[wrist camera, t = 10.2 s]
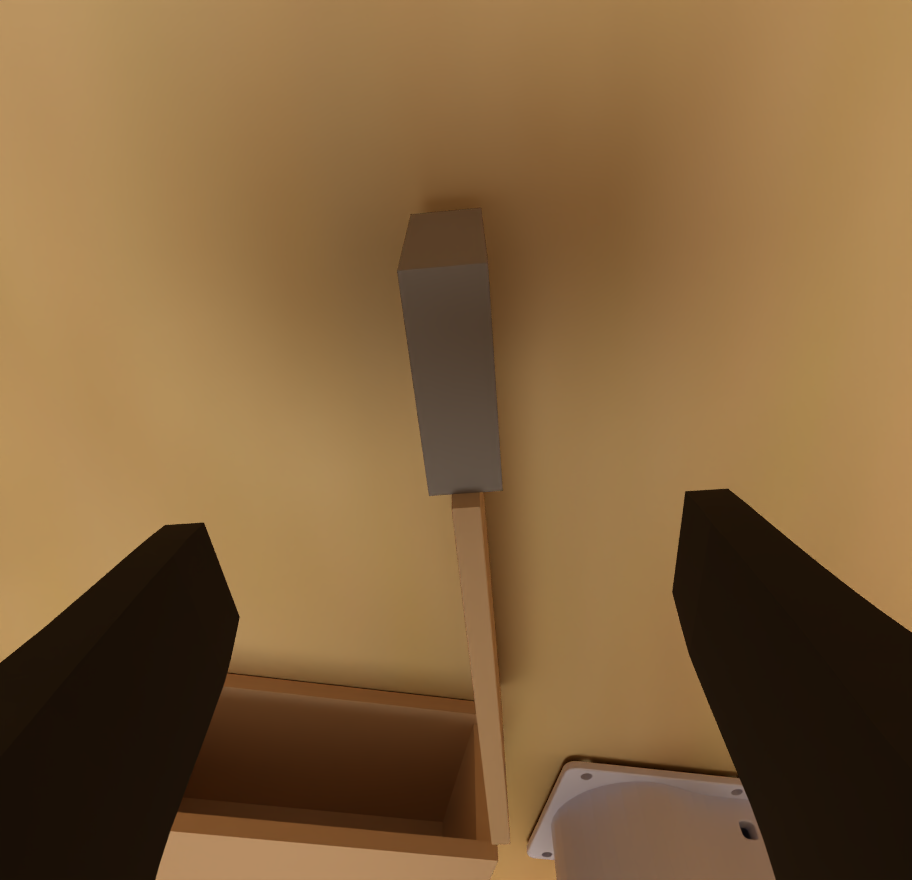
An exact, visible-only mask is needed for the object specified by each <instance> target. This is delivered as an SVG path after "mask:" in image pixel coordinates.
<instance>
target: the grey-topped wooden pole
mask: <svg viewBox="0 0 912 880" xmlns="http://www.w3.org/2000/svg"><path fill="white" fill-rule="evenodd" d="M397 273H398V280H399V287H400V294H401V302H402V309H403V316H404V323H405V330H406V337H407V344H408V351H409V358H410V365H411V372H412V379H413V386H414V393H415V400H416V407H417V415H418V422H419V429H420V436H421V443H422V450H423V457H424V464H425V471H426V478H427V485H428V492H429V496H434V495H449V494H452V515H453V523H454V532H455V540H456V549H457V557H458V565H459V574H460V582H461V590H462V599H463V607H464V615H465V624H466V632H467V641H468V649H469V657H470V666H471V674H472V682H473V691H474V699H475V707H476V716H477V724H478V733H479V741H480V749H481V758H482V766H483V774H484V783H485V791H486V799H487V808H488V816H489V825H490V833H491V841H492V845H499V844H510V831H509V815H508V799H507V784H506V768H505V752H504V736H503V721H502V705H501V690H500V679H499V667H498V655H497V643H496V631H495V619H494V607H493V596H492V584H491V572H490V560H489V548H488V536H487V524H486V513H485V501H484V492H491V491H503V488H502V473H501V457H500V442H499V427H498V411H497V396H496V380H495V365H494V349H493V334H492V318H491V303H490V287H489V272H488V259H487V251H486V243H485V235H484V227H483V219H482V211H481V208H474V209H463V210H452V211H441V212H431V213H420V214H411V216H410V220H409V224H408V228H407V233H406V237H405V241H404V245H403V249H402V253H401V257H400V261H399V265H398V269H397Z"/></svg>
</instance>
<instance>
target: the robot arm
mask: <svg viewBox="0 0 912 880" xmlns="http://www.w3.org/2000/svg"><path fill="white" fill-rule="evenodd" d="M672 593H673V597H674V600H675V604H676V608H677V612H678V616H679V620H680V624H681V627H682V631H683V634H684V638H685V641H686V645H687V648H688V652H689V655H690V658H691V660H692V663H693V666H694V668H695V671H696V673H697V676H698V678H699V681H700V683H701V686H702V688H703V690H704V693H705V695H706V698H707V700H708V703H709V705H710V708H711V710H712V713H713V715H714V717H715V720H716V722H717V725H718V727H719V730H720V732H721V734H722V737H723V739H724V742H725V744H726V747H727V749H728V751H729V754H730V756H731V759H732V761H733V764H734V766H735V769H736V771H737V773H738V776H739V778H733V777H724V776H714V775H705V774H695V773H686V772H676V771H667V770H658V769H648V768H639V767H629V766H620V765H610V764H601V763H592V762H582V761H571V762H568V763H566V764H565V765H564V766H563V769H562V771H561V773H560V775H559V777H558V779H557V781H556V784H555V786H554V788H553V790H552V792H551V794H550V797H549V799H548V801H547V803H546V805H545V807H544V809H543V812H542V814H541V816H540V818H539V820H538V822H537V825H536V827H535V829H534V831H533V833H532V835H531V837H530V840H529V842H528V844H527V854H528V855H529V856H530V857H532V858H539V859H550V860H555V868H556V877H557V880H912V632H910V631H909V630H907V629H906V628H904V627H903V626H902V625H900V624H899V623H897V622H896V621H895V620H893V619H892V618H890V617H889V616H888V615H886V614H885V613H883V612H882V611H881V610H879V609H878V608H876V607H875V606H874V605H872V604H871V603H870V602H868V601H867V600H866V599H864V598H863V597H862V596H860V595H859V594H858V593H856V592H855V591H854V590H852V589H851V588H850V587H849V586H847V585H846V584H845V583H843V582H842V581H841V580H839V579H838V578H837V577H836V576H834V575H833V574H832V573H831V572H829V571H828V570H827V569H825V568H824V567H823V566H822V565H820V564H819V563H818V562H817V561H815V560H814V559H813V558H812V557H810V556H809V555H808V554H807V553H806V552H804V551H803V550H802V549H801V548H799V547H798V546H797V545H796V544H794V543H793V542H792V541H791V540H790V539H788V538H787V537H786V536H785V535H784V534H782V533H781V532H780V531H779V530H778V529H776V528H775V527H774V526H773V525H772V524H770V523H769V522H768V521H767V520H766V519H764V518H763V517H762V516H761V515H760V514H758V513H757V512H756V511H755V510H754V509H752V508H751V507H750V506H749V505H748V504H746V503H745V502H744V501H743V500H741V499H740V498H739V497H738V496H737V495H735V494H734V493H733V492H731V491H730V490H729V489H716V490H700V491H685V499H684V506H683V514H682V522H681V529H680V537H679V545H678V552H677V560H676V568H675V576H674V583H673V591H672ZM238 622H239V614H238V611H237V609H236V606H235V604H234V601H233V598H232V596H231V593H230V590H229V588H228V585H227V582H226V580H225V577H224V574H223V572H222V569H221V566H220V564H219V561H218V558H217V556H216V553H215V551H214V548H213V545H212V543H211V540H210V537H209V535H208V532H207V529H206V527H205V524H204V523H191V524H175V525H165V526H163V527H162V528H161V529H159V530H158V531H157V532H156V533H154V534H153V535H152V536H150V537H149V538H148V539H147V540H146V541H144V542H143V543H142V544H141V545H140V546H138V547H137V548H136V549H135V550H134V551H133V552H131V553H130V554H129V555H128V556H127V557H126V558H124V559H123V560H122V561H121V562H120V563H119V564H117V565H116V566H115V567H114V568H113V569H112V570H111V571H109V572H108V573H107V574H106V575H105V576H104V577H103V578H101V579H100V580H99V581H98V582H97V583H96V584H95V585H93V586H92V587H91V588H90V589H89V590H88V591H86V592H85V593H84V594H83V595H82V596H81V597H79V598H78V599H77V600H76V601H75V602H74V603H72V604H71V605H70V606H69V607H68V608H67V609H65V610H64V611H63V612H62V613H61V614H60V615H58V616H57V617H56V618H55V619H54V620H53V621H51V622H50V623H49V624H48V625H47V626H45V627H44V628H43V629H42V630H41V631H39V632H38V633H37V634H36V635H34V636H33V637H32V638H31V639H29V640H28V641H27V642H26V643H24V644H23V645H22V646H21V647H19V648H18V649H17V650H16V651H14V652H13V653H12V654H11V655H10V656H8V657H7V658H6V659H5V660H3V661H2V662H1V663H0V880H156V876H157V872H158V869H159V865H160V862H161V859H162V856H163V853H164V849H165V846H166V843H167V840H168V837H169V834H170V831H171V828H172V825H173V823H174V820H175V817H176V815H177V812H178V809H179V806H180V804H181V801H182V798H183V796H184V793H185V790H186V787H187V785H188V782H189V779H190V777H191V774H192V771H193V769H194V766H195V763H196V760H197V758H198V755H199V752H200V750H201V747H202V744H203V741H204V739H205V736H206V733H207V731H208V728H209V725H210V722H211V720H212V717H213V714H214V711H215V708H216V706H217V703H218V700H219V697H220V694H221V692H222V689H223V686H224V683H225V680H226V676H227V672H228V668H229V664H230V659H231V655H232V651H233V646H234V642H235V637H236V632H237V627H238Z"/></svg>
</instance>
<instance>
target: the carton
mask: <svg viewBox="0 0 912 880" xmlns="http://www.w3.org/2000/svg"><path fill="white" fill-rule="evenodd" d="M497 862H498V847H497V845H492V841H491V833H490V825H489V816H488V808H487V799H486V791H485V783H484V774H483V766H482V758H481V749H480V741H479V733H478V724H477V716H476V707H475V701H467V700H458V699H449V698H441V697H432V696H423V695H414V694H405V693H396V692H387V691H379V690H370V689H361V688H352V687H343V686H334V685H325V684H317V683H308V682H299V681H290V680H281V679H272V678H263V677H255V676H246V675H237V674H228V673H227V676H226V680H225V683H224V686H223V689H222V692H221V694H220V697H219V700H218V703H217V706H216V708H215V711H214V714H213V717H212V720H211V722H210V725H209V728H208V731H207V733H206V736H205V739H204V741H203V744H202V747H201V750H200V752H199V755H198V758H197V760H196V763H195V766H194V769H193V771H192V774H191V777H190V779H189V782H188V785H187V787H186V790H185V793H184V796H183V798H182V801H181V804H180V806H179V809H178V812H177V815H176V817H175V820H174V823H173V825H172V828H171V831H170V834H169V837H168V840H167V843H166V846H165V849H164V853H163V856H162V859H161V862H160V865H159V869H158V872H157V876H156V880H490V879H491V876H492V874H493V872H494V869H495V867H496V865H497Z"/></svg>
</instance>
